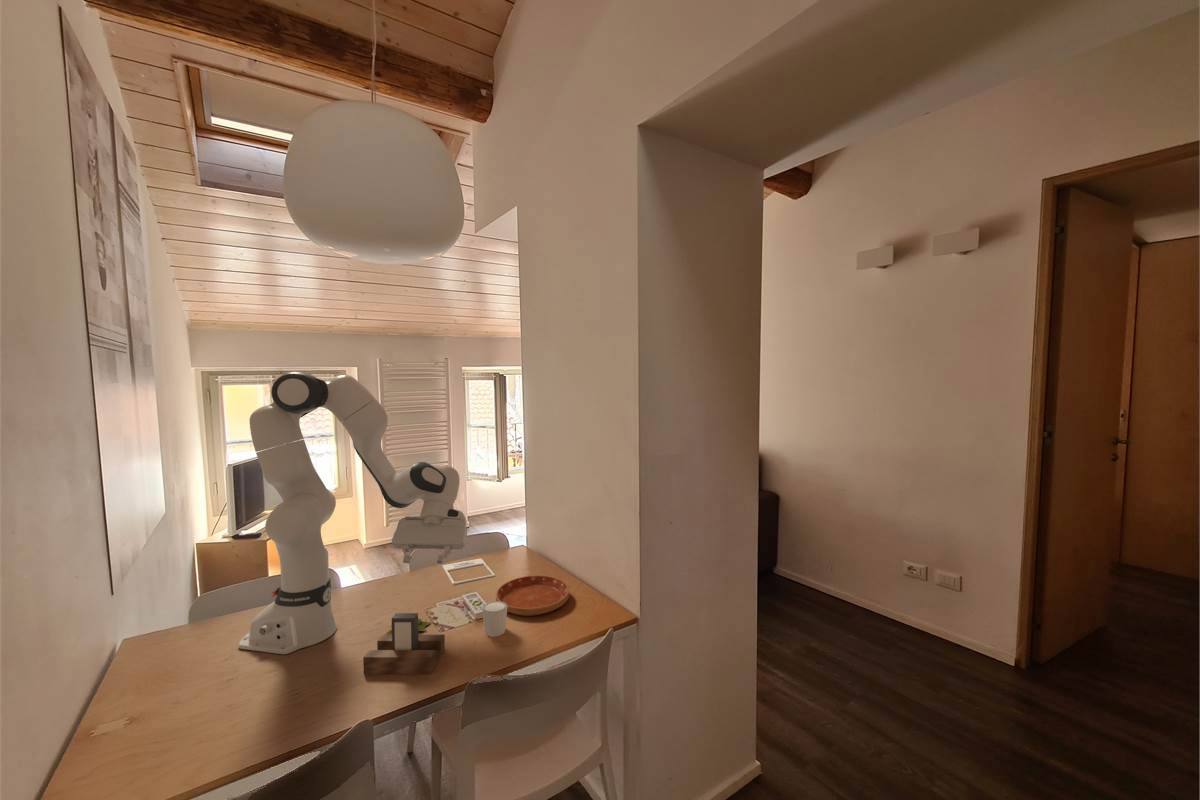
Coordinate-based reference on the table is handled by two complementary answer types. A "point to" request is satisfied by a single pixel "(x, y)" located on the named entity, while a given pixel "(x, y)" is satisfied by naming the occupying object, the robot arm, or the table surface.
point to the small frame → (405, 631)
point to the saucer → (533, 595)
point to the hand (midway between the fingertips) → (423, 562)
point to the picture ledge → (404, 656)
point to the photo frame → (465, 565)
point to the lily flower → (420, 626)
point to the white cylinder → (494, 618)
